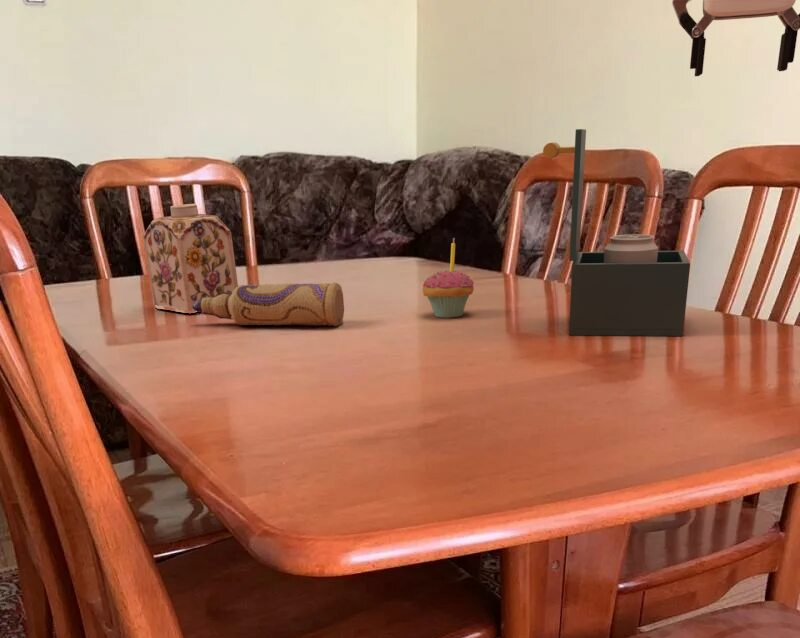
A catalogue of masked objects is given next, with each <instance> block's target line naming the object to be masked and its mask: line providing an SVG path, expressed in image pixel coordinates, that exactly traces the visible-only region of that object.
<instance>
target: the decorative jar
mask: <svg viewBox="0 0 800 638" xmlns="http://www.w3.org/2000/svg"><path fill="white" fill-rule="evenodd" d="M142 238H143V243H144V244H143V245H144V249H145V256H146V264H147V271H148V277H149V282H150V283H149V284H150V288H151V289H150V290H151V295H152V299H153V305H154V306H155V305H157V306H163V307H168V308H173V309H178V310H183V311H195V310H194V309H193V308H192V307H193V304H194V302H196V301H197V300H202V299H203V298H206V297H212V298H215V297H217V296H219V295H223V294H226V295H227V294H229V295H232V293H233V291H234V289H235V288H236V287H238V286H239V283H238V275H237V274H238V273H237V266H236V259H235V252H234V244H233V237H232V232H231V230H230V229H229V227H228V226H227V224H225V223H224V222H223V220H221V219H220V217H219V216H218V215H213V214H209V213H208V214H207V213H206V214H204V213H199V209H198V205H197V203H188V204H187V203H186V204H176V205H171V206H170V215H168V216H167V215H166V216H161V217H156V218H155V219H153V220H152V221H151V222H150V224H149V225H148V227H147V228H146V230H145V232H144V234H143V237H142Z"/></svg>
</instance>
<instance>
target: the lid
mask: <svg viewBox="0 0 800 638" xmlns="http://www.w3.org/2000/svg"><path fill="white" fill-rule="evenodd" d="M574 134H575V136H574V146H561V145H560V144H559V143H558V142H555V141H554V142H548V143H546V144H545V145H544V147H542V154H543V157H545V158H546V159H548V160H549V159H554V158H557V157H558V156H559V155H560V154H574V156H573V157H574V158H573V161H574V162H573V175H572V176H573V178H572V196H571V197H572V198H571V214H570V215H571V217H570V219H571V220H570V237H569V239H570V240H569V256H568V257H569V258H568V259H569V262H573V261H575V259H576V257H577V254H578V252H580V249H581V234H582V233H581V232H582V217H583V214H582V213H583V197H584V196H583V195H584V180H585V179H584V177H585V176H584V175H585V157H586V142H587V141H586V140H587V129H585V128H584V129H583V128H578V129H577V128H576V129H575V133H574Z"/></svg>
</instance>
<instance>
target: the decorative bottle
mask: <svg viewBox="0 0 800 638" xmlns="http://www.w3.org/2000/svg"><path fill="white" fill-rule="evenodd" d="M344 302H345V301H344V292H343V288H342V285H340V284H339V283H338V282H331V283H278V284H274V283H273V284H272V283H266V284H246V285H245V284H241V285H238V287H236V288H235V289H234V291H233V293H232V295H229V294H227V295H226V294H223V295H219V296H217V297H215V298H212V297H206V298H203V299H202V300H197V301H196V302H194V304H193V307H192V308H193V309H194V310H195V311H197V312H201V313H200V314H203V315H205V316H206V315H209V316H214V317H217V318H218V319H220V320H221V319H226V320H233V322H234V323H235V324H236V325H239V326H241V325H258V326H259V325H274V326H281V325H299V326H321V325H323V326H326V325H328V326H331V325H336V326H335V327H338V326H337V325H339V324H340V325H341V324H342V322H343V321H344V315H345V304H344ZM340 325H339V326H340Z"/></svg>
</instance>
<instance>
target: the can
mask: <svg viewBox="0 0 800 638" xmlns="http://www.w3.org/2000/svg"><path fill="white" fill-rule="evenodd" d="M654 239H655V236H654V235H650V234H639V233H632V234H631V233H630V234H616V235H612V236H611V235H610V237H609V240H610V241H609V243H608V244H607V245H606V246H605V247H604V250H603V252H604V263H657V255H658V251H659V247H658V246H657V244H656V243H655V242H654Z"/></svg>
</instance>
